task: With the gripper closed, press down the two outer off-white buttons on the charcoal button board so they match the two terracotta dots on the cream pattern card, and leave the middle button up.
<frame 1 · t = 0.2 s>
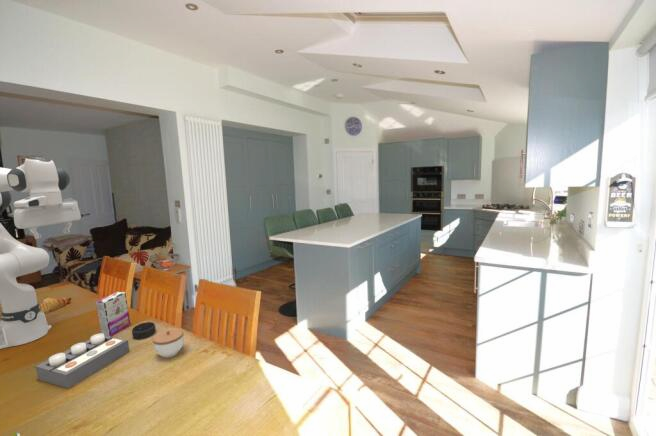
hand: (53, 235, 120), 47 cm above the table, tool pointing down, fingers open, 8 cm apart
croissant: (48, 310, 167), on the table
button board: (86, 364, 117), on the table
button 2: (79, 350, 117), point 5 cm above the table, slide at 0.0 cm
candy bar box: (116, 330, 142), on the table
button 3: (98, 340, 123), point 5 cm above the table, slide at 0.0 cm
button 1: (57, 361, 110), point 5 cm above the table, slide at 0.0 cm
lidded jar: (170, 353, 122), on the table
smart speaker: (144, 335, 137), on the table
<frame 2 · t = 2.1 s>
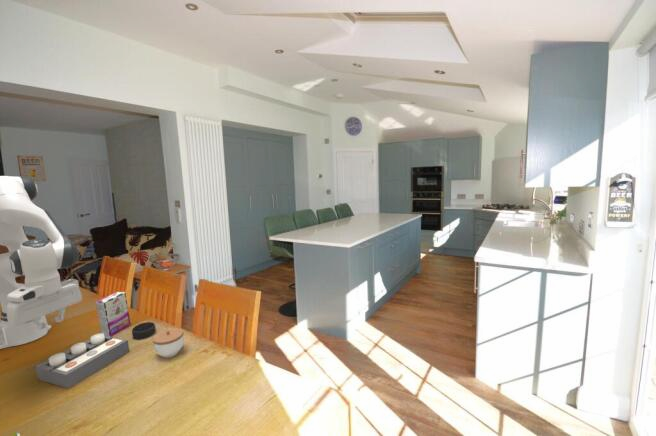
hand: (51, 324, 108), 19 cm above the table, tool pointing down, fingers open, 4 cm apart
nothing on the table moved.
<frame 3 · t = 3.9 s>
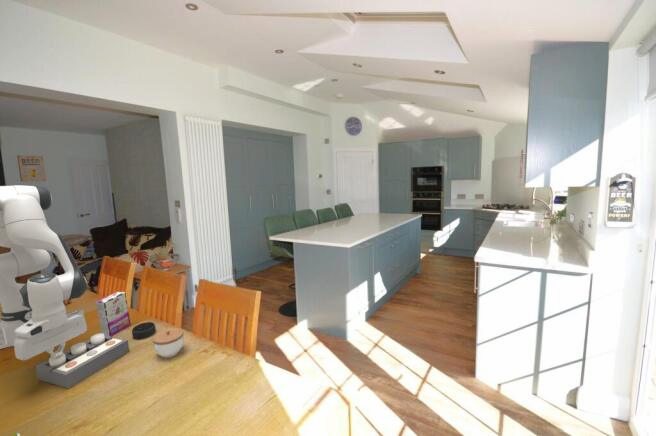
hand: (57, 356, 110), 7 cm above the table, tool pointing down, fingers closed, pressing on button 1
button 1: (57, 361, 110), point 5 cm above the table, slide at 0.2 cm, touching gripper
everything else where it was.
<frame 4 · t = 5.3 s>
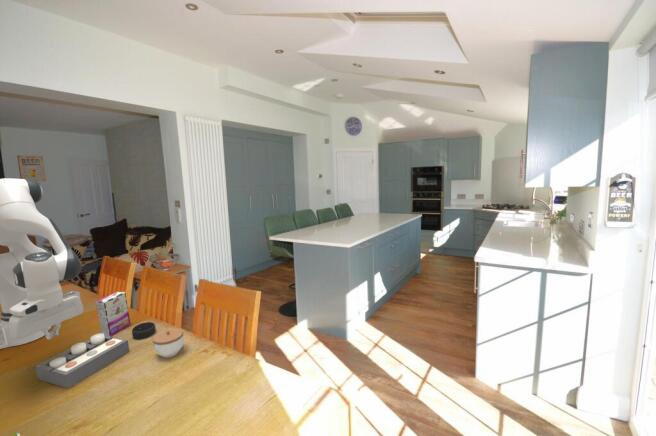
hand: (52, 337, 109), 14 cm above the table, tool pointing down, fingers closed
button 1: (58, 365, 110), point 4 cm above the table, slide at 1.7 cm
everything else where it was.
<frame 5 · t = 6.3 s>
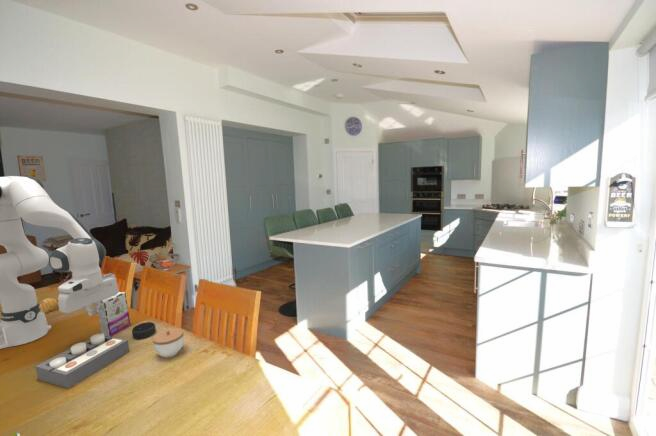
hand: (93, 314, 121), 17 cm above the table, tool pointing down, fingers closed
nothing on the table moved.
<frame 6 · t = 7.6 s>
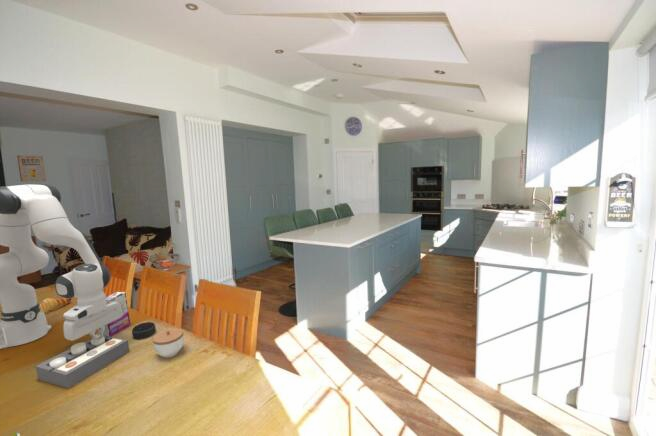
hand: (98, 338, 123), 6 cm above the table, tool pointing down, fingers closed, pressing on button 3
button 3: (98, 343, 123), point 4 cm above the table, slide at 1.2 cm, touching gripper
everything else where it was.
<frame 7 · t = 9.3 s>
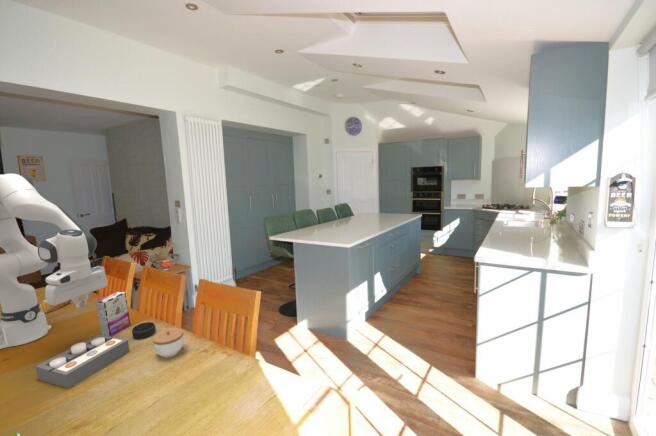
hand: (81, 306, 121), 20 cm above the table, tool pointing down, fingers closed
button 3: (98, 344, 123), point 4 cm above the table, slide at 1.7 cm
everything else where it was.
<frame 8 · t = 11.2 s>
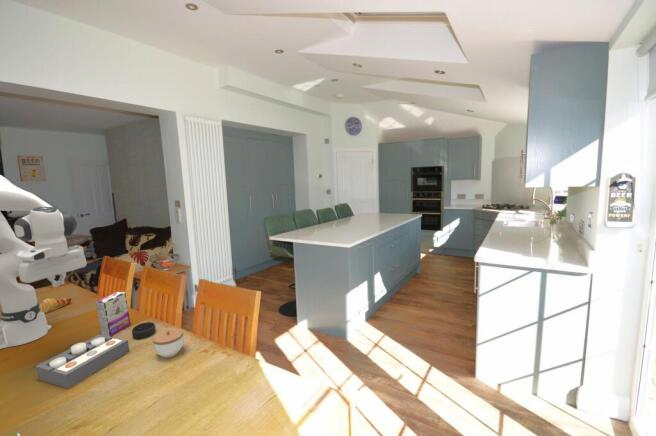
hand: (58, 285, 118), 29 cm above the table, tool pointing down, fingers closed
nothing on the table moved.
at the end: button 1 slide at 1.7 cm; button 3 slide at 1.7 cm; button 2 slide at 0.0 cm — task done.
